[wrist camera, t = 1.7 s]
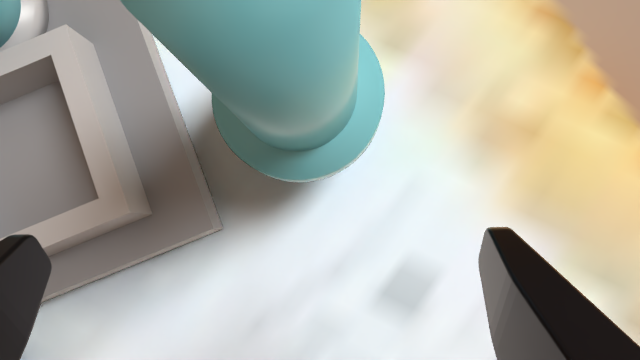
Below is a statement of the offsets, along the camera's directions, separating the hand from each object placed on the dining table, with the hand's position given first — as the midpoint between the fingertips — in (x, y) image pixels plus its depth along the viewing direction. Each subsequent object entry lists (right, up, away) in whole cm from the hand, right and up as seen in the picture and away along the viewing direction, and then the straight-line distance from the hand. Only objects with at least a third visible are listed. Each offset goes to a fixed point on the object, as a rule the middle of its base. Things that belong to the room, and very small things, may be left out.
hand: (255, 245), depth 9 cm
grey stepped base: (-13, +5, +13) cm, 19 cm away
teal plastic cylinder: (+1, +4, +12) cm, 13 cm away
